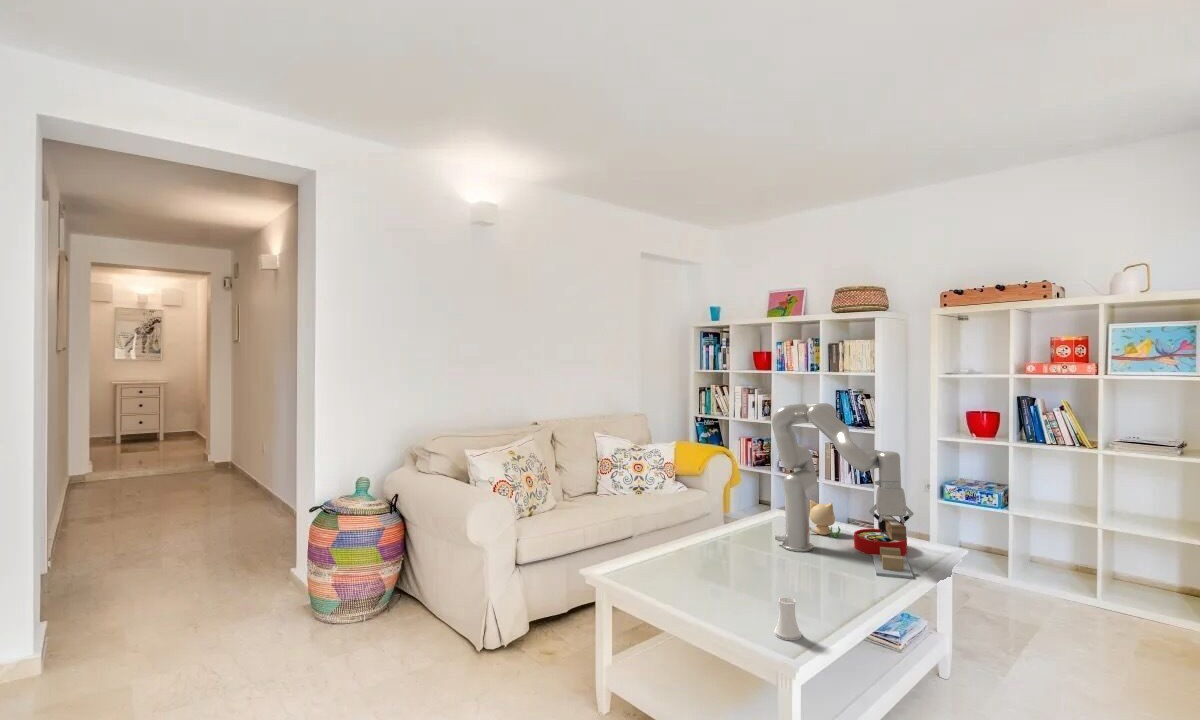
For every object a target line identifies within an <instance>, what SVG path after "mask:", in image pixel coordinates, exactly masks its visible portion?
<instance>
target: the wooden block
mask: <svg viewBox="0 0 1200 720" xmlns="http://www.w3.org/2000/svg"><path fill="white" fill-rule="evenodd" d="M882 520H883V524H884V532H883V533H884V534H885V535H886V536H888V537H889V538H890V539H891V540H905V541H907V542H908V539H907V540H906V537H907V526H905V524H904V525H903V524H902V523H900V521H899V520H898V519H896V518H895V516H884V517H883V519H882ZM877 522H878V523H877V527H878V528H877V529H879V521H878V520H877Z"/></svg>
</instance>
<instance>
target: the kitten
mask: <svg viewBox="0 0 1200 720" xmlns="http://www.w3.org/2000/svg"><path fill="white" fill-rule="evenodd" d="M809 521H811V523H813V524H815V527H814V528H812V527H811V526H809V532H810V533H811V532H812V533H814V534H818V535H822V536H826V535H829V534H831V535H832V536H833V537H832V538H839V537H840V532H841V527H840V526H839V525H838V526H837V529H838V530H837V533H836V534H835V533H834V532H833V526H832V525H834V524H835V522H836V516H835V513H834V506H833V503H832V502H830V503H827V504H825V503H817V502H815V500H813V499H810V500H809ZM829 526H831V527H829Z"/></svg>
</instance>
